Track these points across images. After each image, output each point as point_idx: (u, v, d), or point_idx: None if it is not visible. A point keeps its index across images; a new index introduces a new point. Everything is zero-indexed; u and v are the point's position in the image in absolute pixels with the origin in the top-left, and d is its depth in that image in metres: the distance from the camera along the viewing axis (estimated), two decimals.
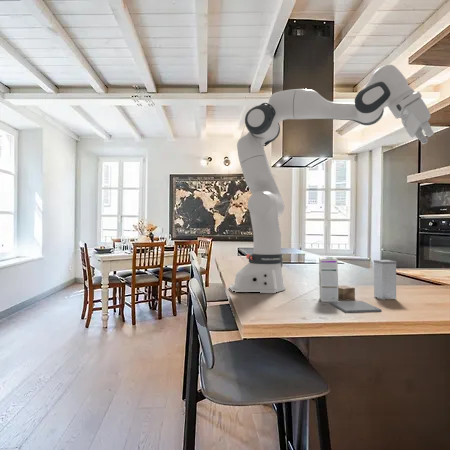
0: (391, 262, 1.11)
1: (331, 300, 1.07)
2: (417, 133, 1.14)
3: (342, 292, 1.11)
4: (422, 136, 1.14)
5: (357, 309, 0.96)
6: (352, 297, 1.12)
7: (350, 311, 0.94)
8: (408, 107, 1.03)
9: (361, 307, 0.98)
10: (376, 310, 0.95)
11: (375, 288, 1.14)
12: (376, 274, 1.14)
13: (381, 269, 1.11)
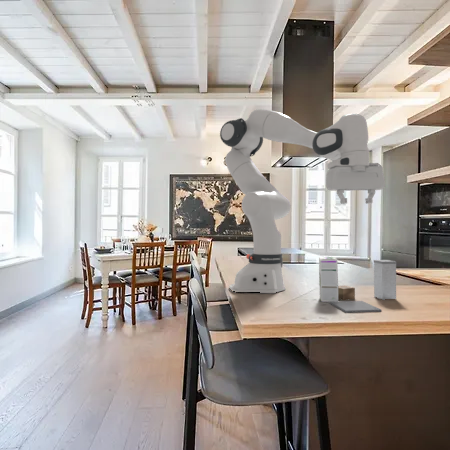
0: (391, 262, 1.11)
1: (331, 300, 1.07)
2: (368, 190, 1.10)
3: (342, 292, 1.11)
4: (370, 195, 1.09)
5: (357, 309, 0.96)
6: (352, 297, 1.12)
7: (350, 311, 0.94)
8: (327, 171, 1.08)
9: (361, 307, 0.98)
10: (376, 310, 0.95)
11: (375, 288, 1.14)
12: (376, 274, 1.14)
13: (381, 269, 1.11)
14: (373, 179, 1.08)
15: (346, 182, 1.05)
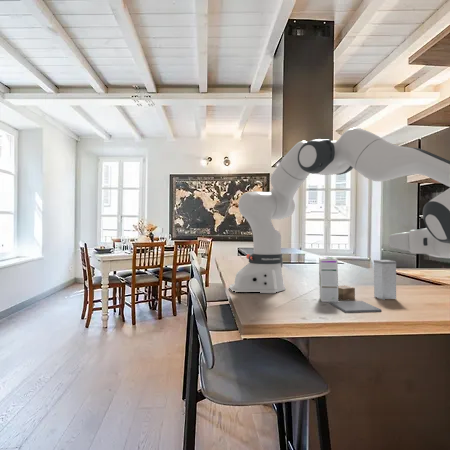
0: (391, 262, 1.11)
1: (331, 300, 1.07)
2: None
3: (342, 292, 1.11)
4: None
5: (357, 309, 0.96)
6: (352, 297, 1.12)
7: (350, 311, 0.94)
8: (403, 234, 0.89)
9: (361, 307, 0.98)
10: (376, 310, 0.95)
11: (375, 288, 1.14)
12: (376, 274, 1.14)
13: (381, 269, 1.11)
14: None
15: None
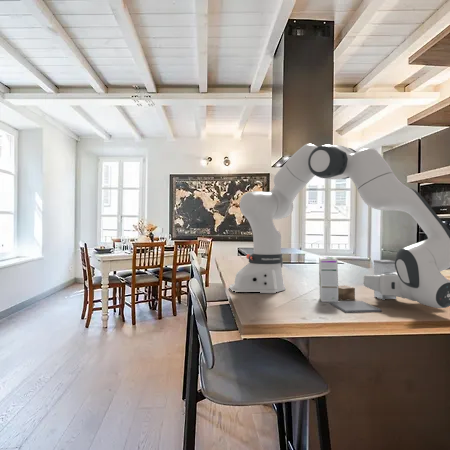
0: (391, 262, 1.11)
1: (331, 300, 1.07)
2: None
3: (341, 292, 1.11)
4: None
5: (357, 309, 0.96)
6: (352, 297, 1.12)
7: (350, 311, 0.94)
8: (375, 277, 1.03)
9: (361, 307, 0.98)
10: (376, 310, 0.95)
11: None
12: (376, 274, 1.14)
13: (381, 269, 1.11)
14: None
15: None
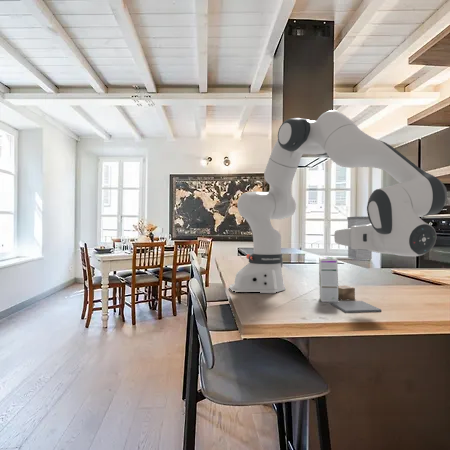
0: (365, 217, 0.99)
1: (331, 300, 1.07)
2: None
3: (341, 292, 1.11)
4: None
5: (357, 309, 0.96)
6: (352, 297, 1.12)
7: (350, 311, 0.94)
8: (346, 230, 0.91)
9: (361, 307, 0.98)
10: (376, 310, 0.95)
11: (349, 248, 1.03)
12: None
13: (354, 225, 0.99)
14: None
15: None
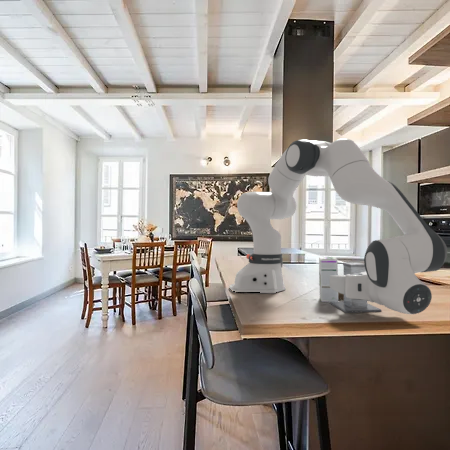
0: (361, 265, 0.97)
1: (331, 300, 1.07)
2: None
3: None
4: None
5: (357, 309, 0.96)
6: None
7: (350, 311, 0.94)
8: (340, 278, 0.89)
9: None
10: (376, 310, 0.95)
11: (345, 295, 1.01)
12: None
13: (350, 273, 0.98)
14: None
15: None
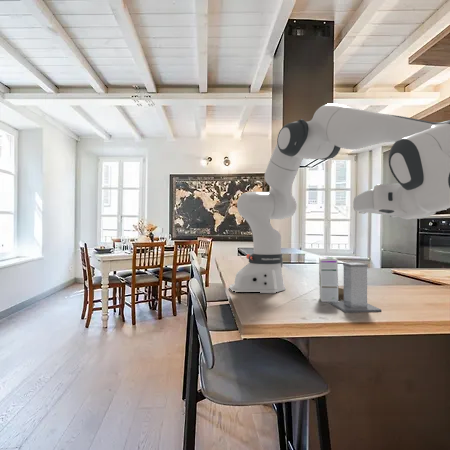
0: (361, 265, 0.97)
1: (331, 300, 1.07)
2: None
3: (341, 292, 1.11)
4: None
5: (357, 309, 0.96)
6: None
7: (350, 311, 0.94)
8: (368, 191, 0.81)
9: None
10: (376, 310, 0.95)
11: (345, 295, 1.01)
12: (345, 278, 1.01)
13: (350, 273, 0.98)
14: None
15: (375, 211, 0.85)
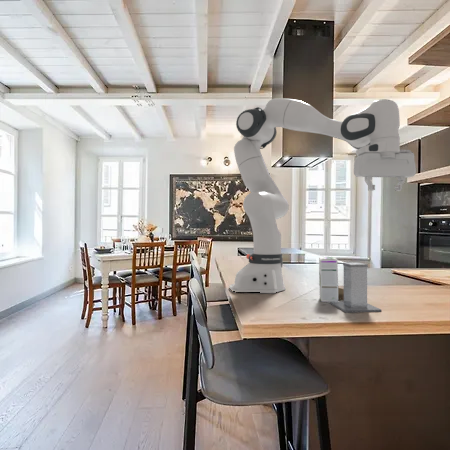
0: (361, 265, 0.97)
1: (331, 300, 1.07)
2: (398, 177, 1.09)
3: (341, 292, 1.11)
4: (400, 182, 1.08)
5: (357, 309, 0.96)
6: None
7: (350, 311, 0.94)
8: (355, 158, 1.09)
9: None
10: (376, 310, 0.95)
11: (345, 295, 1.01)
12: (345, 278, 1.01)
13: (350, 273, 0.98)
14: (403, 166, 1.07)
15: (374, 169, 1.06)
